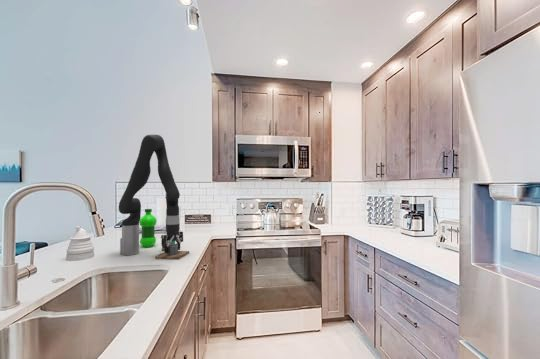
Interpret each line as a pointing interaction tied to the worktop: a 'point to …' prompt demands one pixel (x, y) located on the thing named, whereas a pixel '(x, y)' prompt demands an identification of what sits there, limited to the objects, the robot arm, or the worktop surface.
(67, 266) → the worktop surface
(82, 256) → the honey pot
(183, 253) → the stub board
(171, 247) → the cap
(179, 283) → the worktop surface
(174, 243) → the food container
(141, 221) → the plastic bottle
